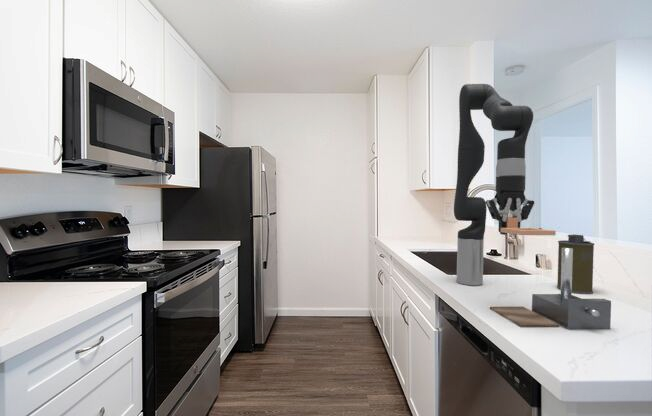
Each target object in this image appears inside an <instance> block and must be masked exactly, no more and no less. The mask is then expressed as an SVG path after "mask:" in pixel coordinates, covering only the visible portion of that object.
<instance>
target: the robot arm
mask: <svg viewBox="0 0 652 416" xmlns="http://www.w3.org/2000/svg"><path fill="white" fill-rule="evenodd" d="M458 102H459V103H458V109H459V111H458V112H459V132H458V133H459V134H458V145H457V147H458V148H457V170H456V171H457V172H456V173H457V174H456V186H455V193H454V201H453V214H454V218H455V219H456V221H459V222H460V221H462V222H471V223H470V225H468V226H466V227H465V228H462V229H459V230H458V231H457V251H456V253H457V254H456V256H457V257H456V282H457V283H458V284H461V285H465V286H476V287H477V286H482V285H483V284H484V247H485V246H484V244H485V243H484V239H485V232H486V225H487V224H486V222H487V221H486V220H487V210H488V212H489V214H490V216H491V218H492V219H493V220H495V221H498V232H499V235H502V236H504V235H507V234H508V233H504V232H500V230H501V228H507V222H506V220H507V217H508V214H510V215H511V217H514V218H518V228H521V222H522V221H526V220H528V218H529V216H530V214H531V212H532V210H533V207H534V205H535V200H530V199H527V197H526V195H525V191H526V179H527V177H526V175H527V174H526V171H527V169H526V168H527V167H526V143H527V140H528V136H529V132H530V130H531V127H532V124H533V120H534V113H533V110H532V108H531V107H530V106H528V105H513V104H512V102H511V101H509V100H507V99H504V98H503V97H501V96H500V94H499V93H498V92H497V91H496V90H495V88H494V87H493V86H492V85H491V84H488V83H465V84H463V85H462V86H461V88H460V92H459V99H458ZM472 111H482V112H483V115H485V117H486V118H487V119H489V120H490V122H491V127H492V129H494V130H495V131H497V132H498V131H499V132H513V131H514V135H513V136H512V137H508V138H504V139H501V140H500V141H498V143H497V149H496V150H497V153H496V155H497V156H496V165H495V192H496V193H495V195H494V198H492V199H486V200H485V199H484V198H483V197H480V196H478V197H477V196H468V193H469V192H468V191H469V189H470V185H471V183H472V181H473V180H474V179H475V177H476V175H477V174H478V173H479V171H480V170H481V168H482V167H483V165H484V162H485V148H486V146H485V141H484V139H483V137H482V136H481V134H480V133H479V131H478V129H477V128H476V127H475V124H474V122H473V120H472V119H473V118H472ZM497 205H498V208H497ZM513 235H514V236H518V235H517V234H513Z"/></svg>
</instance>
